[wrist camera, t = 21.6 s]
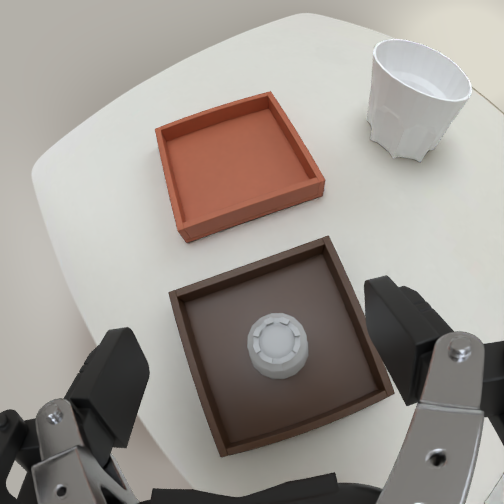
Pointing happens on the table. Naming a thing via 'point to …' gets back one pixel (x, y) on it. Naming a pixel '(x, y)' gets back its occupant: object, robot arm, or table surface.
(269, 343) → the rook chess piece
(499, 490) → the white box
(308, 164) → the terracotta tray
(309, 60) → the table surface
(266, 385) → the walnut tray
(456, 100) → the cup
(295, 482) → the robot arm
